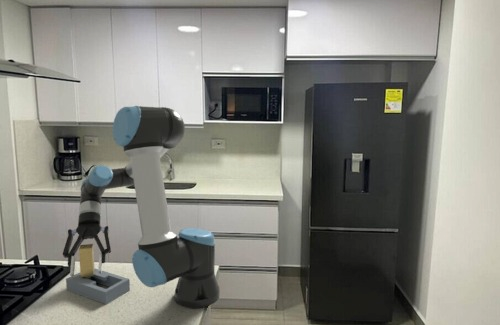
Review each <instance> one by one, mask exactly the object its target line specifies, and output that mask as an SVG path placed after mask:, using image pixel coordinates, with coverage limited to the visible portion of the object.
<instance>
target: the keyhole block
mask: <svg viewBox="0 0 500 325" xmlns="http://www.w3.org/2000/svg"><path fill="white" fill-rule="evenodd" d="M98 270H99V268H95V271H94V275H93V276H91V279H93V280H96V282H95V281H92V280H89V279H86V278H85V277H81V274H80V272H78V273H74V277H71V276H68V277H67V278H65V286H66V291H68V292H71V293H74V294H77V295H80V296H82V297H85V298H87V299H90V300H93V301H96V302H99V303H101V304H104V305H109V303H111V302H113V301H115V300H116V299H118V298H119V297H121V296H123V295H124V294H126V293H128V292H129V291H130V290H131V287H130V286H131V283H130V282H131V281H130V278H128V277H123V276H121V275H118V274H114V273H111V272H108V271H104V270H102V273H101V274H99V271H98ZM97 284H100V285H103V286H107V287H108V288H104V287H101V286H98V285H97Z"/></svg>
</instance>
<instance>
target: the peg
mask: <svg viewBox="0 0 500 325" xmlns="http://www.w3.org/2000/svg"><path fill="white" fill-rule="evenodd" d="M78 255H79V271H80V272H79V273H80V274H81V277H85V278H86V279H89V280H92V281H95V282H96V280H93V279H91V276H93V275H94V271H95V269H96V267H95V252H94V243H88V244H81V245H80V246H79V248H78ZM96 283H97V282H96Z"/></svg>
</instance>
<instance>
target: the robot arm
mask: <svg viewBox="0 0 500 325" xmlns="http://www.w3.org/2000/svg"><path fill="white" fill-rule="evenodd" d="M185 129H186V126H185V122H184V119H183V118H182V116H181V115H180V113H178V112H177V111H176V110H175V109H172V108H169V107H166V106H165V107H164V106H163V107H159V106H158V107H157V106H141V105H140V106H139V105H135V106H123V107H122V108H120V109H119V110H118V111H117V112H116V115H115V116H114V119H113V125H112V135H113V136H112V137H113V140H114V141H115V144H116V145H118V146H119V147H122V148H123V153H124V155H126V156H127V157H129V158H130V161H129V162H128V163H127V165H126V166H125V167H120V168H118V167H117V168H110V167H109V166H105V165H97V166H95V167H94V168H92V170H91V172H90V173H89V174H88V176H87V178H86V179H84V180H82V183H81V187H80V201H79V209H78V210H79V211H78V219H77V220H78V221H77V222H78V223H77V227H76V229H71V228H69V229H68V230H67V238H66V242H65V244H64V248H63V251H62V256H63V258H65V259H66V258H67V266H68V268H70V271H69V277H74V275H75V267H76V256H75V255H76V254H77V252H78V251H79V248H80V246H81V245H82V243H83V242H84V241H85V240H88V239H90V240H93V239H94V241H95V243H96V245H97V247H98V248H99V250H100V252H99V254H98V271H99V274H101V273H102V271H103V264H105V263H106V255H107V254H110V253H111V252H112V249H111V245H110V244H111V243H110V238H109V232H110V229H109V225H106V226H101V212H102V211H101V210H102V196H103V194H104V192H105V191H106V190H109V189H116V188H123V187H130V186H131V187H132V186H133V187H134V190H135V197H136V204H137V211H138V218H139V224H140V231H141V237H140V239H139V240H138V241H137V248H138V249H137V250H135V251H134V253H133V254H132V258H131V264H132V268H133V270H134V273H135V274H136V276H137V278H138V280H139V281H140V282H141V283H142V284H143V285H144V286H145V287H147V288H156V287H159V286H161V285H166V284H167V283H170V282H171V281H174V280H176V279H178V280H177V283H176V287H175V290H174V299H175V300H174V301H175V302H176V304H178V305H179V306H181V307H183V308H188V309H200V308H206V307H208V306H211V305H213V304H215V303H216V302H217V301H218V300H219V299H220V295H221V294H220V293H221V292H220V291H221V290H220V289H221V288H220V286H219V284H218V280H217V277H216V272H215V260H216V258H215V254H216V253H215V251H216V250H215V248H216V247H215V246H216V242H215V235H214V234H213V232H211V230H207V229H204V228H197V227H196V228H195V227H191V228H184V229H181V230H180V231H179V232H178V235H177V233H175V232H174V231H173V230H172V227H171V220H170V214H169V208H168V203H167V195H166V189H165V182H164V177H163V176H164V175H163V169H162V163H161V158H162V157H163V156H164V155H165V154H166V153H167V152H168V151H169V150H172V149H174V148H176V147H177V146H178V145H179V143H181V141H182V140H183V137H184V136H185V132H186V130H185ZM101 231H102V232H101ZM100 232H101V233H102V234H103V235H104V240H105V247H106V248H105V247H104V245H103V244H102V242H101V239H100V237H99V234H100ZM76 234H78V236H77V239H76V240H75V242H74V243H73V240H74V237H75V236H76ZM72 243H73V246H72Z"/></svg>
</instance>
